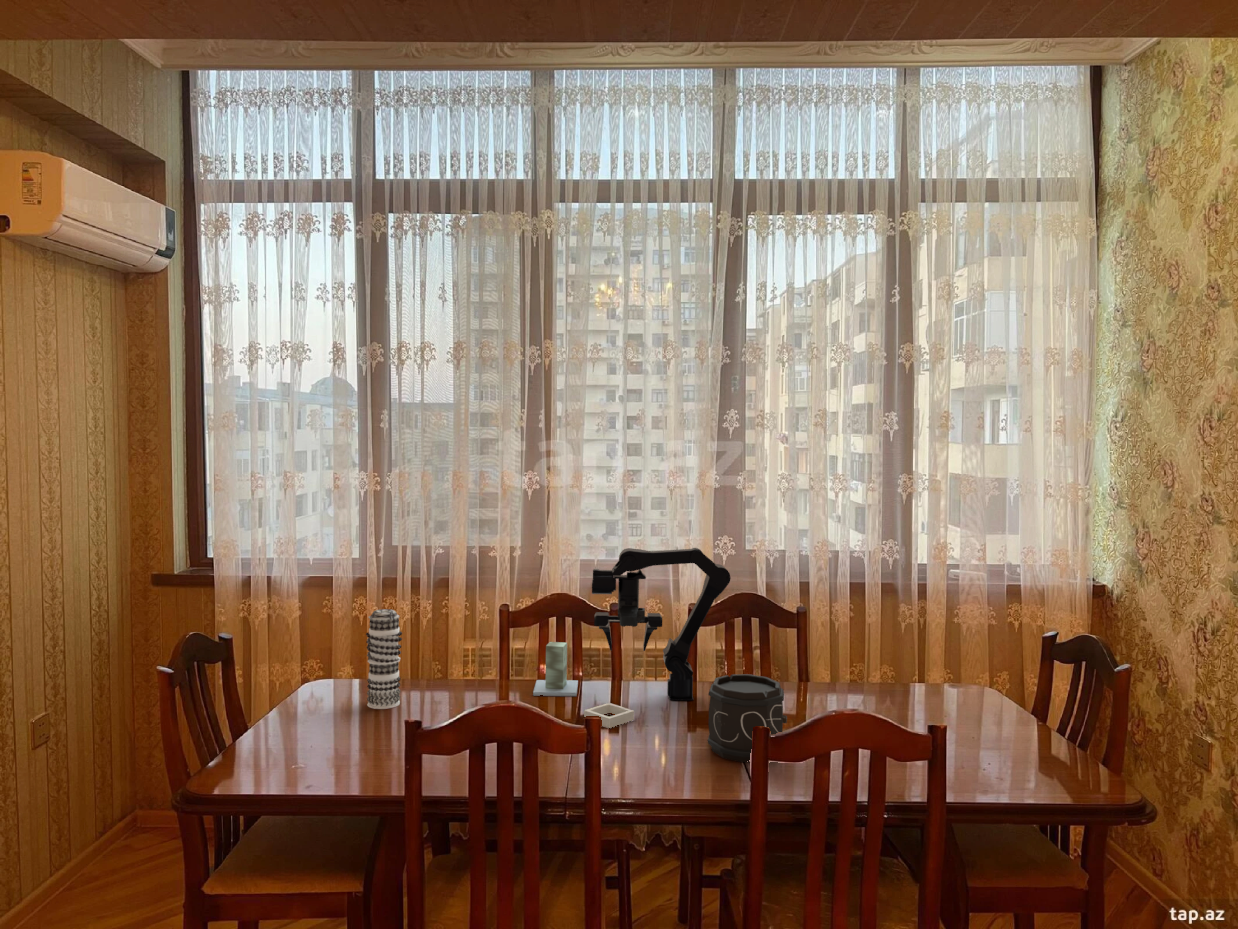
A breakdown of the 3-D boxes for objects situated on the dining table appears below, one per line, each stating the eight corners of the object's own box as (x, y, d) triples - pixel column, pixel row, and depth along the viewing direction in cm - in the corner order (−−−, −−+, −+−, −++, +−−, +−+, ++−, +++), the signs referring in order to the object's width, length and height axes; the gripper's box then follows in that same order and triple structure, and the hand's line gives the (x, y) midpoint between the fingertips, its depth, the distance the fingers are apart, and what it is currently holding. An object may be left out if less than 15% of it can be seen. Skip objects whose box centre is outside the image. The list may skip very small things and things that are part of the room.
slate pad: (577, 683, 253) (577, 680, 253) (576, 696, 241) (576, 692, 241) (536, 683, 253) (536, 680, 253) (533, 695, 241) (533, 692, 241)
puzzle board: (609, 712, 227) (609, 702, 227) (634, 720, 221) (634, 710, 221) (584, 720, 221) (584, 710, 221) (609, 728, 215) (609, 718, 215)
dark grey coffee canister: (785, 768, 191) (787, 697, 190) (704, 761, 195) (705, 691, 194) (786, 740, 209) (788, 675, 208) (712, 734, 212) (713, 670, 212)
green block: (566, 684, 249) (567, 642, 248) (562, 689, 244) (563, 646, 244) (549, 683, 250) (550, 641, 249) (545, 688, 245) (546, 645, 244)
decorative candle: (396, 710, 226) (397, 614, 226) (361, 709, 227) (361, 614, 226) (405, 699, 236) (406, 607, 235) (371, 698, 236) (372, 607, 235)
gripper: (594, 599, 232) (593, 657, 232) (664, 600, 232) (663, 658, 233) (595, 592, 243) (594, 647, 244) (661, 593, 243) (660, 648, 244)
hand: (627, 650), depth 241 cm, fingers open, 9 cm apart
